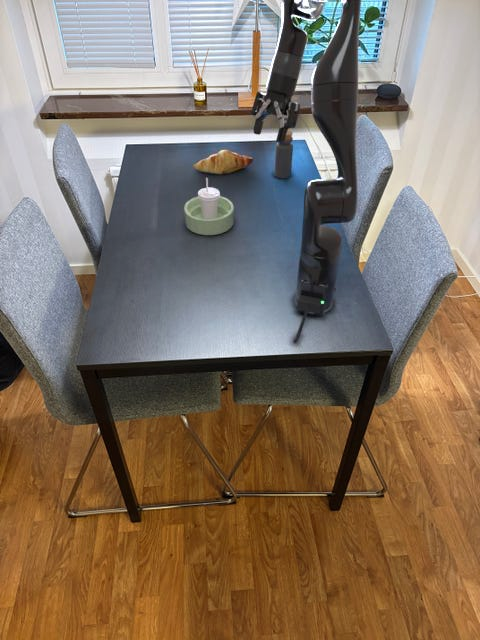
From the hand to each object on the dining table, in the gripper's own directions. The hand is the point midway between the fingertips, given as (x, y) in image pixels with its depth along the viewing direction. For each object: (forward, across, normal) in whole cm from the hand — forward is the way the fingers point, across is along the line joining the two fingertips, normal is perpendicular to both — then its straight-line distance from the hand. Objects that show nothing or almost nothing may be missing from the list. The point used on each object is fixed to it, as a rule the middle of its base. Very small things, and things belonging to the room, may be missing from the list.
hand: (267, 138), depth 138 cm
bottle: (+14, -18, +33) cm, 40 cm away
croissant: (+18, -35, +22) cm, 45 cm away
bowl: (+28, -12, -3) cm, 31 cm away
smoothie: (+28, -11, -3) cm, 30 cm away
